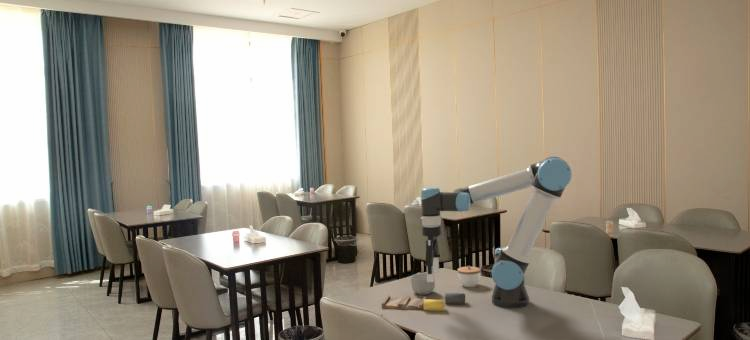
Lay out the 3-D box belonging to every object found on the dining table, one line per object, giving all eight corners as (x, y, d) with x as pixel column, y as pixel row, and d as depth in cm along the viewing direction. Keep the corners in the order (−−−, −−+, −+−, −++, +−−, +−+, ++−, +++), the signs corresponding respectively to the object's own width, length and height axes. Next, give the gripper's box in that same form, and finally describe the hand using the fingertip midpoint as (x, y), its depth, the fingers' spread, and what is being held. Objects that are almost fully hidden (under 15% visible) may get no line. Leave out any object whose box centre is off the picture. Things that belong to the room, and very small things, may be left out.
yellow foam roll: (444, 304, 217) (443, 297, 214) (443, 313, 214) (442, 306, 211) (425, 303, 219) (424, 297, 217) (424, 312, 216) (422, 305, 213)
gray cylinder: (465, 304, 223) (465, 293, 224) (464, 304, 219) (464, 293, 220) (446, 303, 225) (446, 292, 226) (445, 303, 221) (445, 292, 222)
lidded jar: (453, 285, 249) (452, 266, 249) (467, 281, 256) (466, 262, 256) (471, 290, 241) (471, 269, 241) (485, 284, 248) (485, 265, 248)
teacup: (436, 296, 234) (435, 278, 234) (411, 296, 235) (411, 279, 234) (433, 287, 248) (432, 270, 248) (410, 288, 249) (409, 271, 248)
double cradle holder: (426, 301, 227) (426, 296, 227) (422, 309, 216) (421, 304, 216) (388, 300, 231) (387, 295, 231) (381, 308, 221) (381, 303, 221)
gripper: (427, 220, 228) (429, 269, 229) (416, 231, 204) (418, 285, 205) (444, 220, 226) (446, 269, 227) (436, 231, 202) (437, 285, 203)
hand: (433, 277), depth 216 cm, fingers open, 13 cm apart
